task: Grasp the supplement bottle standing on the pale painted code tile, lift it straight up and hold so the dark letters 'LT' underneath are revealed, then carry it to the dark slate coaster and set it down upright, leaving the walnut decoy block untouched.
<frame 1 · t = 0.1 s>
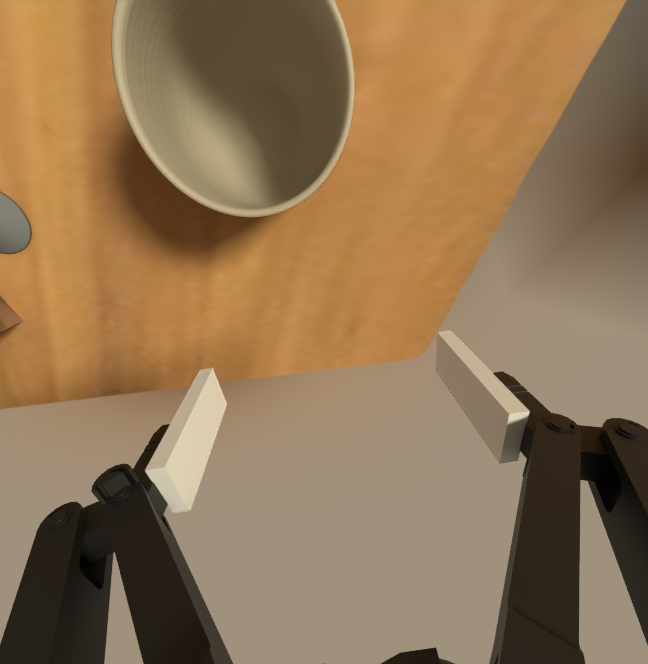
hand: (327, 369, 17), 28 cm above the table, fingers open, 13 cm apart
planter: (264, 126, 35), on the table
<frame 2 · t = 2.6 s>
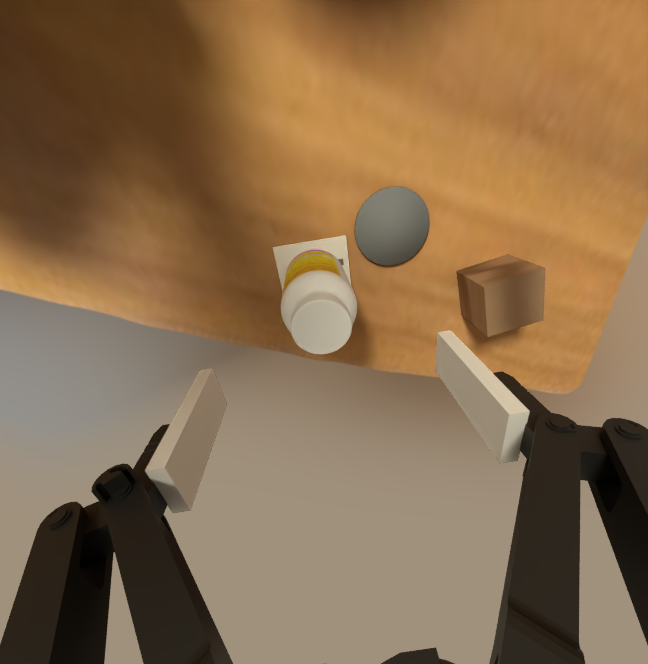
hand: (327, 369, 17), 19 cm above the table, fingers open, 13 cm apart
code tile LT: (315, 276, 34), on the table
walnut decoy block: (483, 285, 36), on the table
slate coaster: (391, 227, 32), on the table
supplement bottle: (315, 276, 34), resting on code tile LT
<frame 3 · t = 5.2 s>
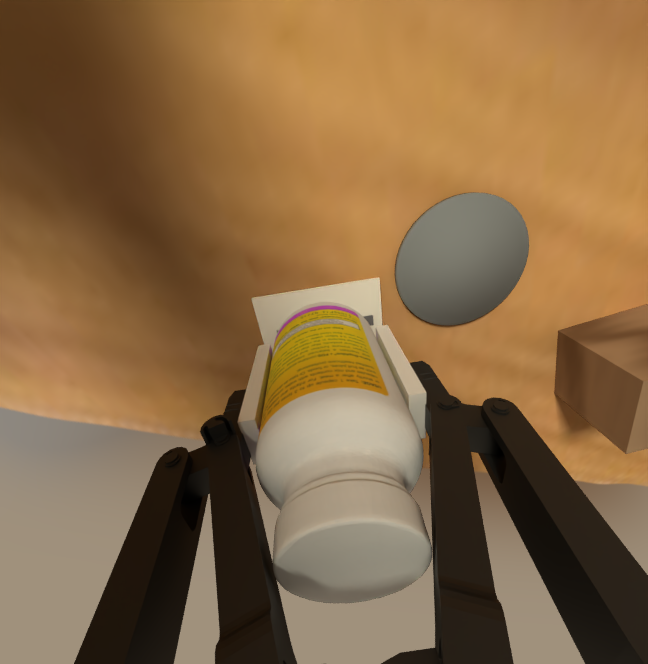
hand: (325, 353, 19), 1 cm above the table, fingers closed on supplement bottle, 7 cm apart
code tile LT: (324, 342, 20), on the table
walnut decoy block: (596, 351, 22), on the table
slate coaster: (458, 264, 18), on the table
supplement bottle: (324, 343, 20), resting on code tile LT, touching gripper
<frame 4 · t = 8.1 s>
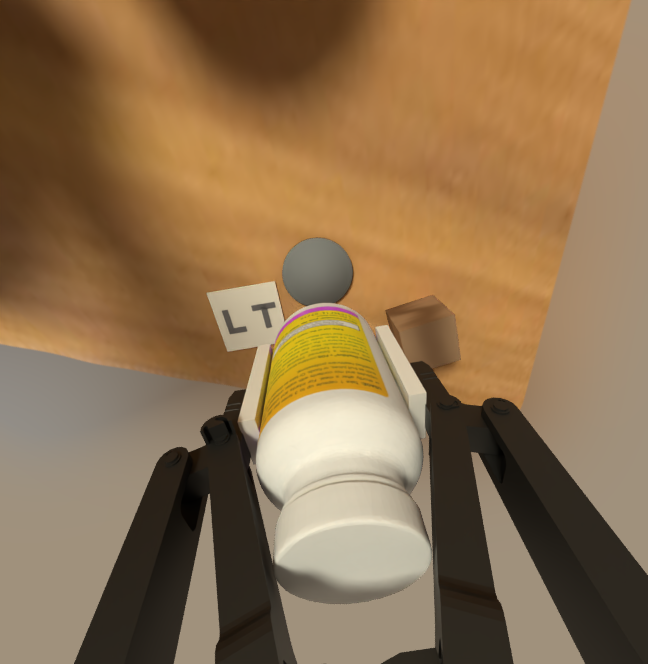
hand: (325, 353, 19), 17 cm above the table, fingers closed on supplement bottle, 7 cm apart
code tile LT: (250, 317, 36), on the table
walnut decoy block: (412, 322, 38), on the table
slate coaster: (317, 273, 34), on the table
supplement bottle: (324, 344, 20), point 16 cm above the table, touching gripper
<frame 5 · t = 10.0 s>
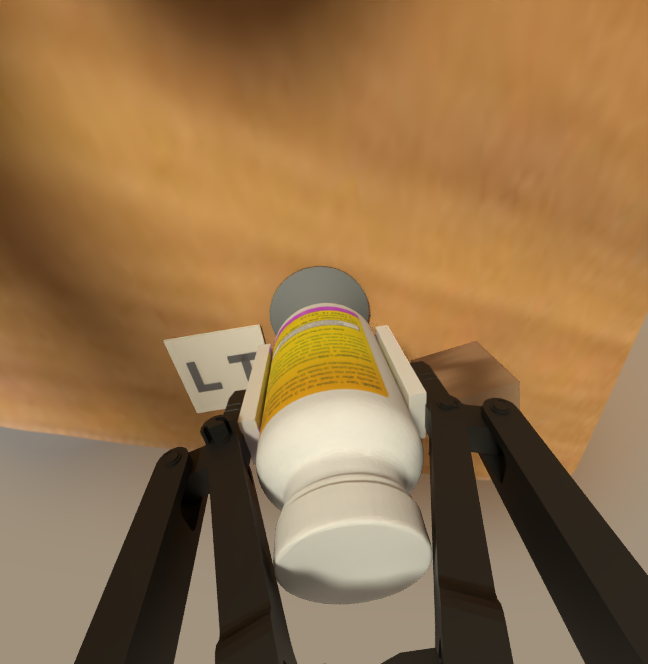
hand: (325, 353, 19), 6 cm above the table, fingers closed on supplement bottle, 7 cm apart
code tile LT: (226, 371, 26), on the table
walnut decoy block: (446, 375, 28), on the table
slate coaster: (319, 314, 24), on the table
supplement bottle: (324, 344, 20), point 5 cm above the table, touching gripper
when the fingers open (3 cm above the table, at t = 11.4 s): supplement bottle drops 2 cm, resting on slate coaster.
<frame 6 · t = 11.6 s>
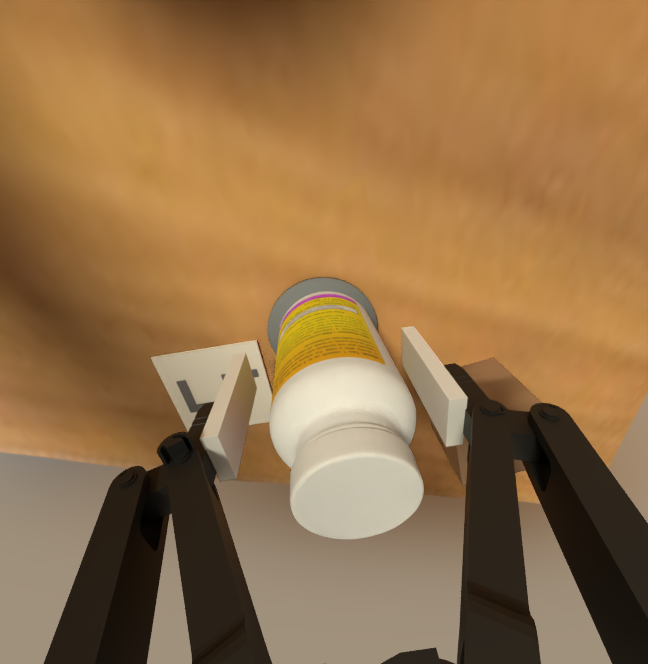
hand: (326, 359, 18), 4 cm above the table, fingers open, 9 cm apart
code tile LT: (220, 390, 24), on the table
walnut decoy block: (460, 393, 26), on the table
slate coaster: (322, 329, 22), on the table
supplement bottle: (325, 330, 22), resting on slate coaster
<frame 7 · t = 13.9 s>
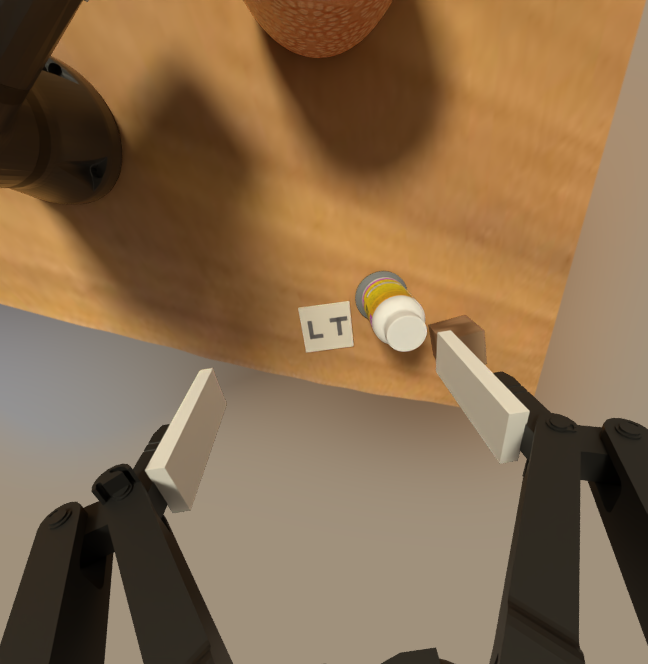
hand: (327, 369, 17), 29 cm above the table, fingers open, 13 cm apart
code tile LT: (326, 327, 48), on the table
walnut decoy block: (448, 335, 49), on the table
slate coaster: (381, 296, 46), on the table
supplement bottle: (382, 296, 45), resting on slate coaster
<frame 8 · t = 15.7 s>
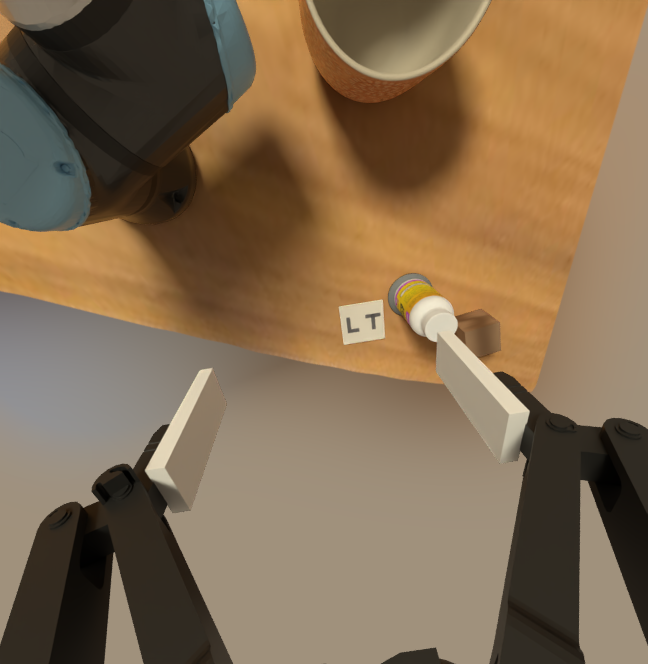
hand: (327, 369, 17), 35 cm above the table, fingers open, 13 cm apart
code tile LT: (362, 322, 55), on the table
walnut decoy block: (466, 326, 57), on the table
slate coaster: (409, 295, 53), on the table
supplement bottle: (411, 295, 53), resting on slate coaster
planter: (366, 30, 36), on the table
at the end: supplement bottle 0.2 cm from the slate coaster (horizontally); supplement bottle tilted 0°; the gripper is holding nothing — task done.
